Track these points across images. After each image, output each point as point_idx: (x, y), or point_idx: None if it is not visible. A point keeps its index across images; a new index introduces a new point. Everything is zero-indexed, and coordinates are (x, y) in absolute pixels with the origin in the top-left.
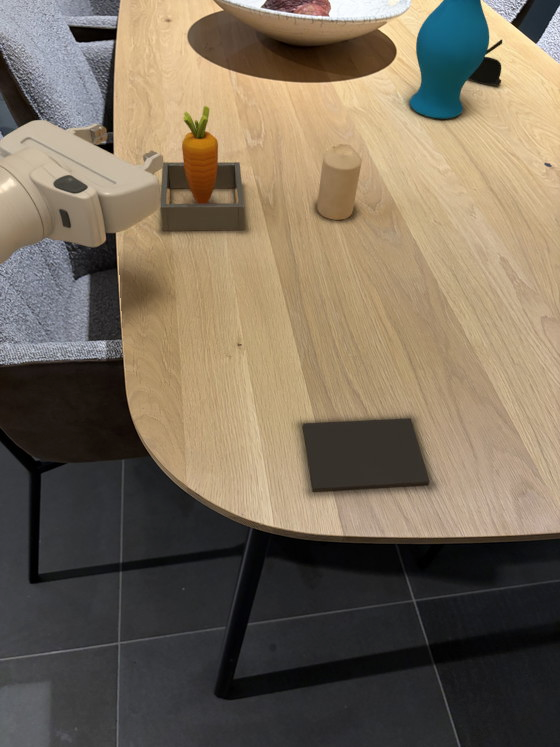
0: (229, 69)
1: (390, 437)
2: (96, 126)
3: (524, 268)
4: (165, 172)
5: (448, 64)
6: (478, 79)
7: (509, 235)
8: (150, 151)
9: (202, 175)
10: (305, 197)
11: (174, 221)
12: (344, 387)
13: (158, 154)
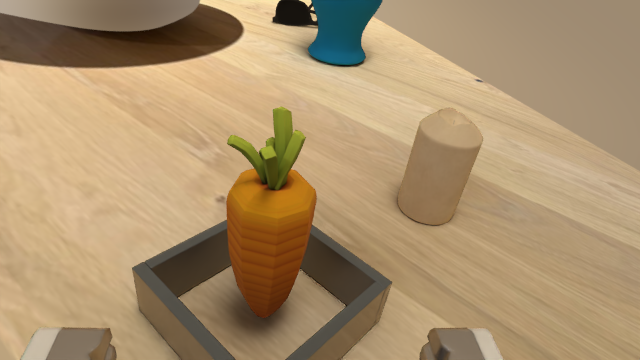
0: (59, 66)
1: None
2: (59, 351)
3: (636, 185)
4: (164, 290)
5: (366, 3)
6: None
7: (571, 156)
8: (446, 341)
9: (297, 264)
10: (372, 206)
11: None
12: None
13: (485, 336)
